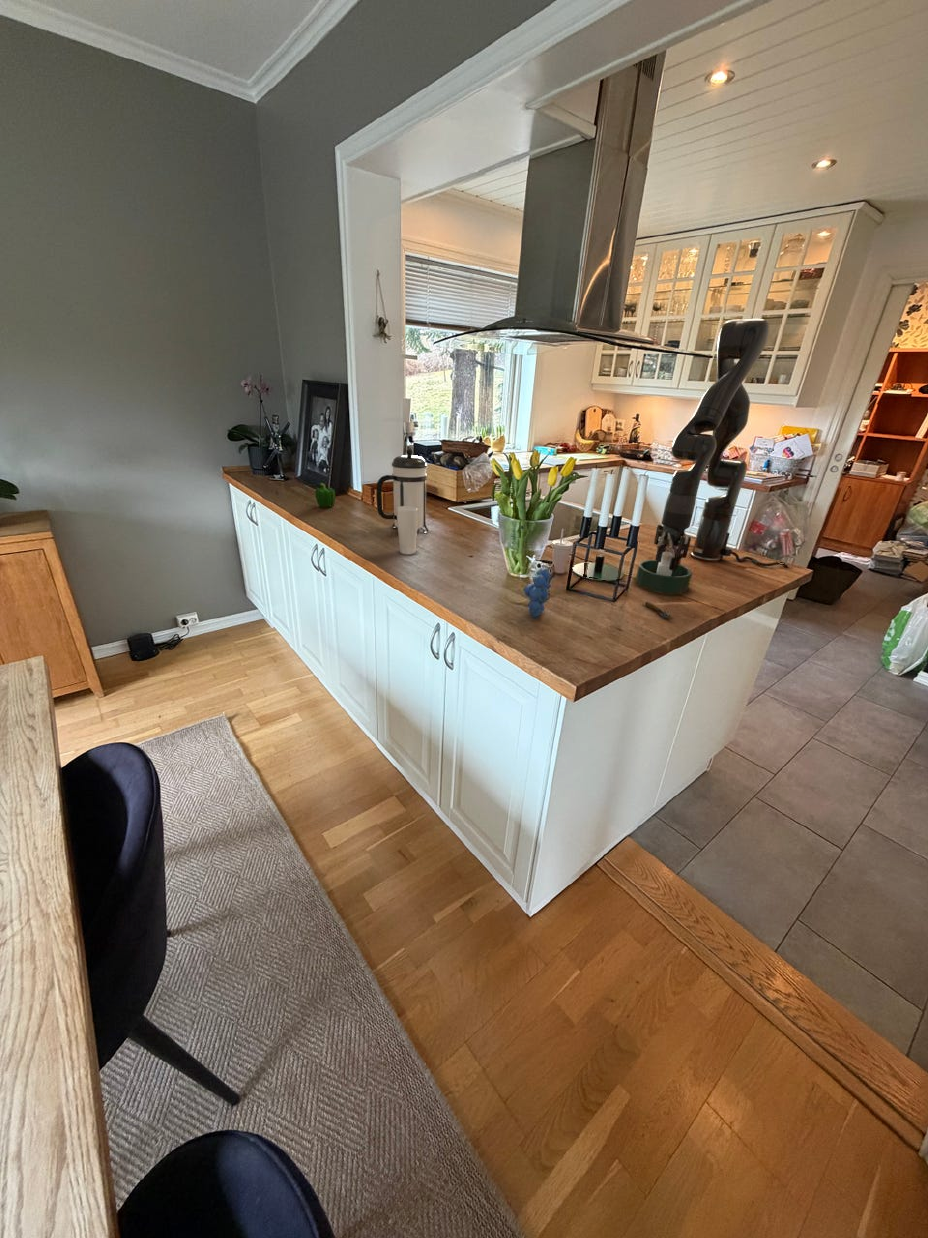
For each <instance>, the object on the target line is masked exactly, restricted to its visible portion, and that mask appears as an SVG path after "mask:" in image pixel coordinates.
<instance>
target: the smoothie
mask: <svg viewBox="0 0 928 1238" xmlns="http://www.w3.org/2000/svg"><path fill="white" fill-rule="evenodd" d="M564 531H565V529H564V528H561V532H560V539H555V540H552V541H551V547H552V565H553V564H554V566H555V572H554V573H556V574H564V573H566V569H567V566H568V563H569V558H570V555H571V551H572V548H574V547H573V546H574V543H573V542H572V541H569V540H566V539H563V538H564Z"/></svg>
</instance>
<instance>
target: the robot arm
mask: <svg viewBox="0 0 928 1238" xmlns="http://www.w3.org/2000/svg"><path fill="white" fill-rule="evenodd" d="M720 328H721V329H720V331H719V334H718V337H717V338H718V339H717V345H716V381H715V382H714V383H712V384H711V386H709V387H708V389H707V390H706V391H705V393H704V394H703V395H702V397H701V399H700V401H699V403H698V405H697V407H696V409H695V411H694V414H693V416H692V417H691V418H690V419H689V420H688V422H686V424H685V426H684V427H683V428H681V430H680V431H679V432H678V434H677V435H676V436H675V438H674V440H673V442H672V445H671V455H672V457H673V458H674V459H676V460H678V461H684V462H693V465H692V467H691V468H689V469H677V470H676V471H675V472H674V473H673V475H672V478H671V483H670V487H669V492H668V495H667V497H666V500H665V503H664V504H665V505H664V509H663V512H662V513H663V514H662V518H661V524H658V525H657V527H656V532H655V535H654V536H655V537H654V540H653V544H654V545H656V548H657V549H656V554H655V559H654V560H656V561H661V558H662V553H663V552H665V551H666V549H664V548H666V547H667V545H669V546H670V550H671V551H672V558H671V562H670V566H669V569H670V570H677V568H678V565H679V561H680V558H681V559H685V558H687V556H688V552H689V549H690V544H691V541H692V538H691V536H686V537H685V535H686V534H685V535H684V532H685V533H686V530H687V529H690V527H691V523H692V519H693V514H694V510H695V506H696V502H697V495H698V490H699V487H700V483H701V480H702V478H703V475H704V473H705V471H706V468H707V472H706V483H707V485H708V486H710V487H712V488H717V489H718V488H719V489H725V490H727V491H726V493H724V494H722V495H719V496H710V497H708V498H706V499H705V501H704V504H703V508H702V512H701V515H700V520H699V524H698V528H697V532H696V536H695V539H694V542H693V546H692V550H691V554H690V556H691V557H692V558H693V559H697V560H699V561H704V562H720V561H722V560H723V558H724V557H731V555H732V556H734V557H735V560H736V561H738V562H739V563H742V562H743V561H745V560H748V561H751V562H753V563H755V564H756V565H758V566H761V567H773V566H777V565H778V566H779V565H780V566H783V567H784V568H786V569H789V565H788V564H786V563H785V562H783V561H774V562H768V563H766V562H760V561H758V560H757V559H755V558H754V557H751V556H742V557H741V558H740V556H739V554H738V553H737V552H735V551H733V549H732V548H729V547H727V544H728V541H729V538H730V532H729V528H730V525H731V523H732V522H731V521H732V518H733V515H734V511H735V507H736V504H737V501H738V498H739V495H740V491H741V489H742V487H743V484H744V480H745V477H746V475H747V471H748V464H747V462H746V461H745V460H740V459H733V458H725V457H724V453H725V451H726V449H727V448H728V447H729V445H731V444H732V442H733V441H734V440H736V438H737V437H738V436H739V435H740V434H741V433H742V432H743V431H744V429H745V428H746V426H747V424H748V421H749V416H750V415H749V414H750V409H751V399H750V396H749V394H748V391H747V390H746V388H745V386H744V384H743V382H744V381H745V380H746V378H747V377H748V375H749V373H750V372H751V371H752V369H753V367H754V365H755V364H756V363H757V361H758V359H759V358H760V356H761V354H762V353H763V351H764V349H765V347H766V344H767V342H768V339H769V338H768V337H769V334H770V324H769V321H768V320H767V319H764V318H743V319H742V318H737V319H729V320H727V321H725V322H724V323H723V324H722V326H721V327H720ZM735 360H738V361H737V362H736V363H735ZM708 432H712V433H711V434H709V433H708ZM678 544H679V546H678V547H675V546H677V545H678ZM676 550H677V554H676ZM682 550H683V554H682ZM778 562H780V563H784V564H780V563H778ZM785 564H786V565H785Z"/></svg>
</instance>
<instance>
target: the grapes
mask: <svg viewBox="0 0 928 1238" xmlns="http://www.w3.org/2000/svg"><path fill="white" fill-rule="evenodd" d="M551 578H552V575H551V572H550V571H549V570H548V568H546V567H541V568H540V569H539V570H537V572H536V576H535V577H534V578H533V579H532V583H529V584H527V585H526V586H525V587H524V588H523V593H524V594H525V596H526V597H528V598H529V603H527V607H528V611H529V614H530V616H531V617H532V618H537V617H539V616H540V615H541V614H542V613H543V612H544V611H545V606H544V603H546V602H547V601H549V595H550V593H549V589H550V588H552V586H551V582H550V580H551Z"/></svg>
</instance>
